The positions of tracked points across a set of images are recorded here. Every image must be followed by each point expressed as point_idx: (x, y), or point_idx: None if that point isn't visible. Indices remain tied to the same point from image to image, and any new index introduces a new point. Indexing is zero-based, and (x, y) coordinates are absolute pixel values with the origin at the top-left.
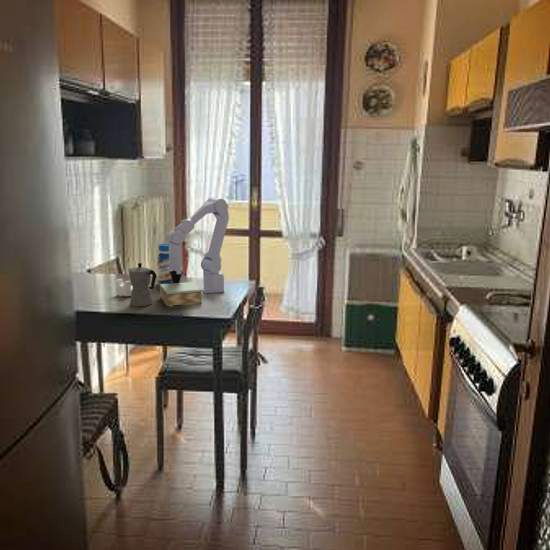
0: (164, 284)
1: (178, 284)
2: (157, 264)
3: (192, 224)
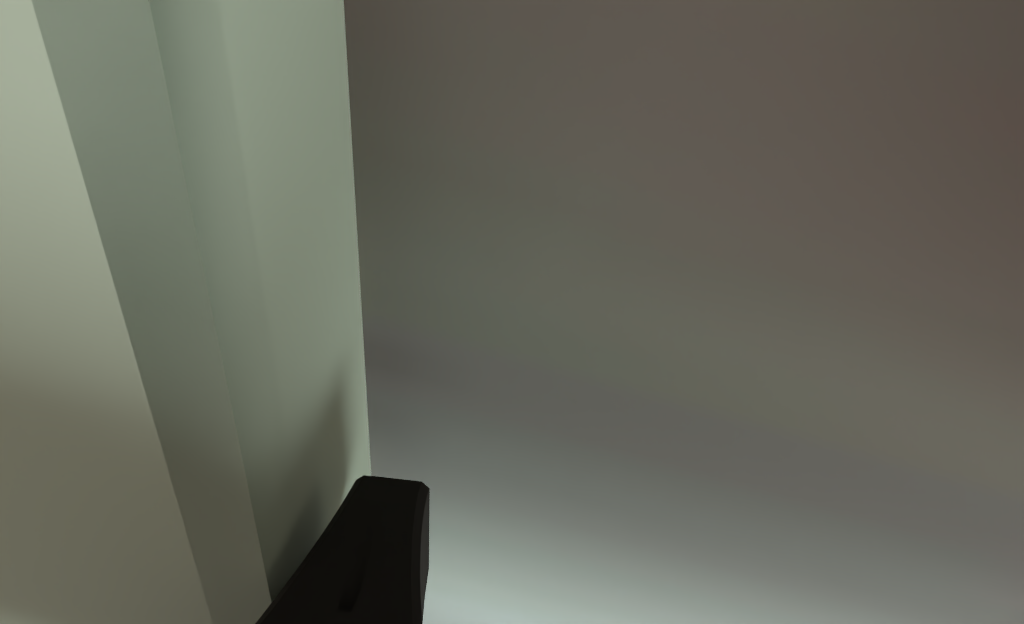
0: (29, 215)
1: (32, 620)
2: None
3: None
